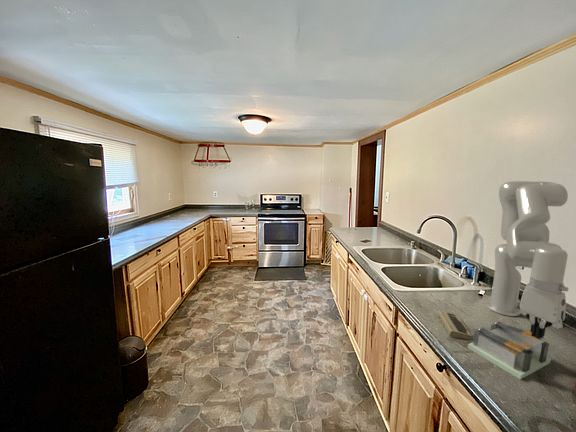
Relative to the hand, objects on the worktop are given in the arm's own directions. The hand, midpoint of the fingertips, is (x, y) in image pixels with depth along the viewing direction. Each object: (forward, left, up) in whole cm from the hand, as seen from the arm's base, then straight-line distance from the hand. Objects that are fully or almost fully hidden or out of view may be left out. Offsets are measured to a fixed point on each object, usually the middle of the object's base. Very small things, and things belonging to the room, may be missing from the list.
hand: (536, 336), depth 87 cm
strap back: (0, -5, -2) cm, 6 cm away
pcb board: (+5, -5, -9) cm, 12 cm away
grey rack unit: (+5, -5, -8) cm, 10 cm away
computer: (+5, -24, -10) cm, 27 cm away
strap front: (+10, -5, -3) cm, 11 cm away
